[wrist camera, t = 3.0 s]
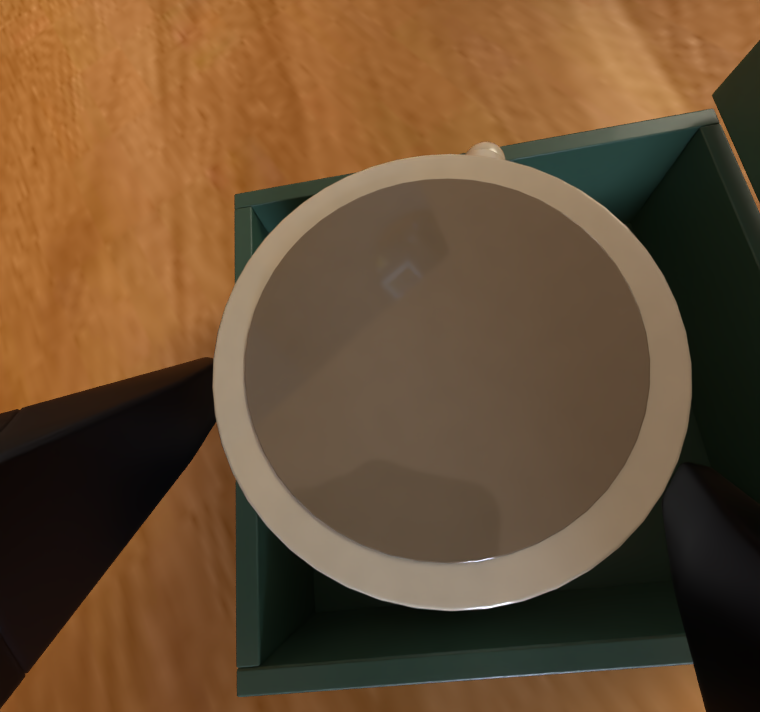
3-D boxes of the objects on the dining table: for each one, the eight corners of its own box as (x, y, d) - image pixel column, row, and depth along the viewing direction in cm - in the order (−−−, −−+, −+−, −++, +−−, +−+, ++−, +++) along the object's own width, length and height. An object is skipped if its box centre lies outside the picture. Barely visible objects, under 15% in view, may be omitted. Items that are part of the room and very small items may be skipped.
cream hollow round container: (517, 558, 15) (680, 696, 5) (325, 505, 16) (141, 528, 6) (554, 306, 17) (714, 49, 7) (385, 278, 19) (323, 28, 9)
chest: (305, 627, 16) (235, 698, 10) (288, 273, 20) (234, 193, 15) (760, 588, 14) (952, 647, 9) (635, 217, 19) (714, 107, 13)
